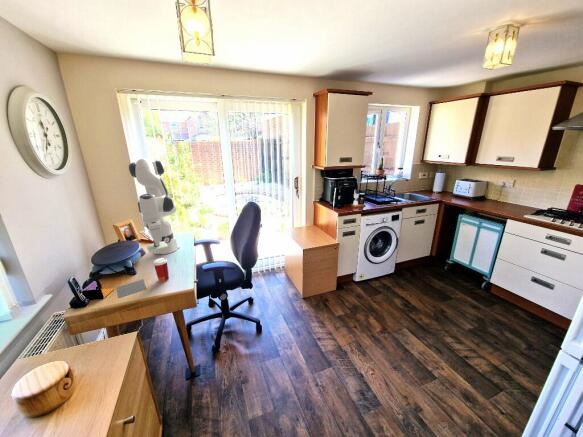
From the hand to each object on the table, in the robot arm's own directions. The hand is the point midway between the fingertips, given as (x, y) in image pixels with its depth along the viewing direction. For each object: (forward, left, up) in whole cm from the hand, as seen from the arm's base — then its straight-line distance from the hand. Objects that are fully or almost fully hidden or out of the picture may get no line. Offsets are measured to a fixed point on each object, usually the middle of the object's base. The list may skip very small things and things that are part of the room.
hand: (156, 244), depth 142 cm
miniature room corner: (-6, -32, -25) cm, 41 cm away
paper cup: (0, 0, -25) cm, 25 cm away
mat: (-2, -17, -25) cm, 30 cm away
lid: (0, 0, -2) cm, 2 cm away
